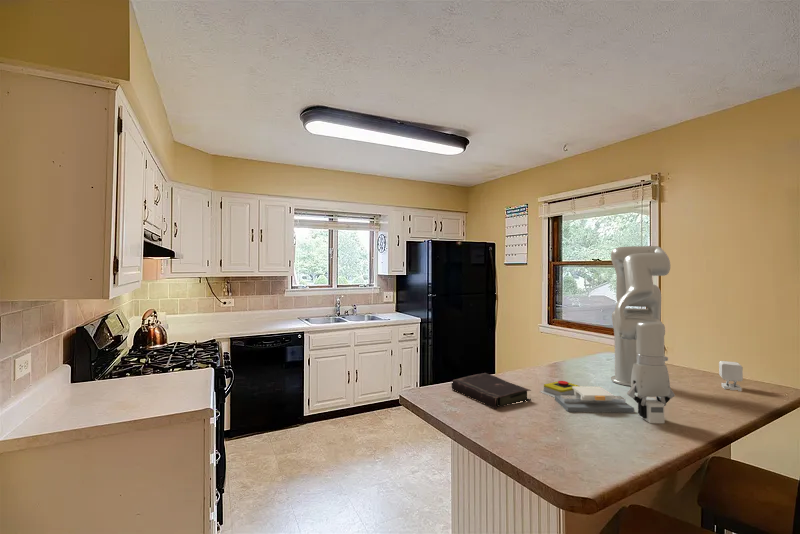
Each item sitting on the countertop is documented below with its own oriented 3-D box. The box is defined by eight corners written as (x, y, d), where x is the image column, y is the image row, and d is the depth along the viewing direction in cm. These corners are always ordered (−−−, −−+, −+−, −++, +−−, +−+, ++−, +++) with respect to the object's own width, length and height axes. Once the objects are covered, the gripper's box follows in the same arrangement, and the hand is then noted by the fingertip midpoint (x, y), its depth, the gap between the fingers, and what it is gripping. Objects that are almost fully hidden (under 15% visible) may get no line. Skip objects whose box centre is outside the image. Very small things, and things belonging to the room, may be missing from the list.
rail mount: (615, 400, 139) (615, 392, 139) (634, 412, 127) (633, 403, 127) (554, 399, 140) (554, 391, 140) (567, 411, 128) (567, 402, 128)
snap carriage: (600, 392, 138) (599, 386, 139) (615, 403, 128) (615, 396, 128) (572, 392, 139) (572, 386, 139) (585, 403, 128) (585, 396, 128)
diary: (494, 411, 131) (494, 397, 131) (451, 391, 153) (451, 379, 153) (532, 401, 140) (532, 388, 140) (486, 384, 162) (486, 372, 162)
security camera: (739, 387, 154) (739, 362, 154) (743, 391, 148) (743, 366, 148) (719, 384, 157) (719, 360, 157) (722, 389, 151) (722, 364, 152)
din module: (652, 415, 124) (652, 397, 124) (664, 423, 118) (664, 404, 118) (638, 415, 124) (638, 397, 124) (650, 423, 118) (649, 404, 118)
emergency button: (584, 382, 148) (557, 388, 141) (584, 394, 148) (557, 400, 141) (564, 377, 156) (538, 382, 150) (564, 387, 156) (538, 393, 150)
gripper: (669, 357, 125) (670, 413, 124) (617, 357, 125) (618, 412, 125) (685, 363, 117) (686, 422, 117) (630, 362, 118) (630, 421, 118)
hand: (651, 416), depth 121 cm, fingers closed on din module, 4 cm apart
